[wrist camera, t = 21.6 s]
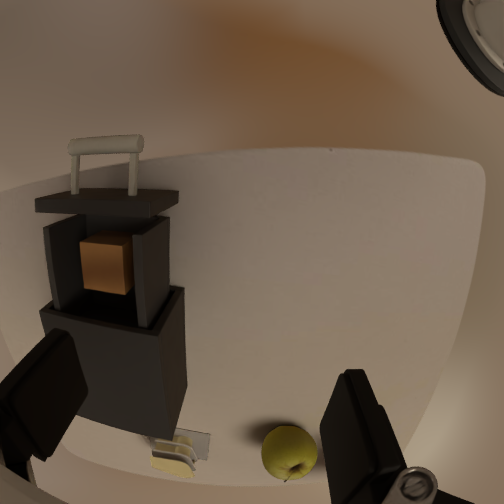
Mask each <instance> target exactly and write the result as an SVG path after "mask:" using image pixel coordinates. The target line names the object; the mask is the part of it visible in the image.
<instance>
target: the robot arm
mask: <svg viewBox="0 0 504 504" xmlns="http://www.w3.org/2000/svg"><path fill="white" fill-rule="evenodd" d="M462 12H463V16H464V20H465V22H466V25H467V27H468V30H469V32H470V34H471V35H472V37H473V39H474V41H475V42H476V44H477V45H478V47H479V48H480V50H481V51H482V52H483V54H484V55H485V56H486V58H487V59H488V60H489V61H490V62H491V63H492V64H493V65H494V66H495V67H496V68H497V69H499V70H500V71H501V72H503V73H504V0H464V1H463V5H462ZM87 396H88V386H87V383H86V380H85V377H84V374H83V371H82V368H81V364H80V361H79V357H78V354H77V350H76V347H75V343H74V339H73V337H72V336H71V335H70V333H69V332H68V331H66V330H62V329H59V328H53V329H52V330H51V331H50V332H49V333H48V334H47V335H46V336H45V337H44V338H43V339H42V340H41V341H40V342H39V343H38V344H37V345H36V346H35V347H34V348H33V349H32V350H31V351H30V352H29V353H28V354H27V355H26V356H25V357H24V358H23V359H22V360H21V361H20V362H19V363H18V364H17V365H16V366H15V368H14V369H13V370H12V371H11V372H10V373H9V374H8V375H7V376H6V377H5V379H4V380H3V381H2V382H1V383H0V504H68V503H66V502H64V501H62V500H60V499H58V498H56V497H54V496H52V495H50V494H48V493H47V492H44V491H43V490H41V489H40V488H38V487H37V485H36V481H35V478H34V473H33V470H32V465H31V461H30V457H31V456H32V454H33V455H34V456H35V457H36V458H38V459H40V460H42V461H44V462H45V461H46V459H47V457H50V456H52V454H53V453H54V451H55V449H56V447H57V446H58V444H59V442H60V440H61V439H62V437H63V435H64V434H65V432H66V430H67V429H68V427H69V425H70V424H71V422H72V420H73V419H74V417H75V415H76V414H77V412H78V410H79V409H80V407H81V406H82V404H83V402H84V401H85V399H86V397H87ZM320 436H321V441H322V447H323V453H324V459H325V465H326V471H327V477H328V483H329V490H330V497H331V504H474V503H472V502H469V501H466V500H464V499H461V498H458V497H456V496H453V495H450V494H448V493H446V492H443V491H441V490H439V489H437V488H438V483H437V479H436V478H435V475H434V474H433V473H432V472H431V471H429V470H427V469H425V468H423V467H410V468H407V465H406V463H405V460H404V457H403V454H402V452H401V449H400V447H399V444H398V441H397V439H396V436H395V434H394V431H393V429H392V426H391V424H390V421H389V419H388V416H387V414H386V411H385V409H384V408H383V406H382V405H378V402H377V400H376V397H375V395H374V393H373V390H372V388H371V385H370V383H369V381H368V378H367V376H366V374H365V371H364V370H363V369H347V370H345V372H344V373H342V374H340V375H339V377H338V380H337V382H336V385H335V388H334V390H333V393H332V396H331V398H330V401H329V403H328V406H327V408H326V411H325V413H324V416H323V418H322V420H321V423H320Z"/></svg>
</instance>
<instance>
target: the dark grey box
mask: <svg viewBox="0 0 504 504" xmlns="http://www.w3.org/2000/svg"><path fill="white" fill-rule="evenodd" d="M39 313H40V317H41V321H42V325H43V329H44V332H45V336H46V335H47V334H48V333H49V332H50V331H51V330H52V329H53V328H59V329H62V330H66V331H68V332H69V333H70V335H71V336H72V337H73V339H74V343H75V347H76V350H77V354H78V357H79V361H80V364H81V368H82V371H83V374H84V377H85V380H86V383H87V386H88V396H87V397H86V399H85V401H84V402H83V404H82V406H81V407H80V409H79V410H78V412H77V414H76V415H78V416H81V417H84V418H86V419H89V420H92V421H95V422H98V423H101V424H105V425H108V426H111V427H115V428H118V429H122V430H125V431H129V432H133V433H137V434H141V435H145V436H150V437H154V438H159V439H164V440H169V441H172V440H173V436H174V432H175V429H176V425H177V421H178V418H179V414H180V411H181V407H182V403H183V400H184V396H185V393H186V390H187V370H186V348H185V306H184V288H182V287H174V286H170V300H169V302H168V304H167V305H166V307H165V309H164V310H163V312H162V314H161V316H160V317H159V319H158V321H157V322H156V324H155V326H154V327H153V329H152V330H146V329H140V328H135V327H129V326H124V325H118V324H113V323H108V322H103V321H98V320H94V319H89V318H84V317H80V316H76V315H71V314H67V313H63V312H59V311H55V308H54V303H53V300H52V301H50V302H49V303H48V304H47V305H45V306H44V308H42V309H41V310H39Z"/></svg>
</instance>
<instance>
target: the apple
mask: <svg viewBox="0 0 504 504" xmlns="http://www.w3.org/2000/svg"><path fill="white" fill-rule="evenodd" d="M261 454H262V461H263V464H264V466H265V468H266V470H267V471H268V472H269V473H270V474H271V475H272V476H274V477H276V478H278V479H282V480H285V481H284V482H286V481H287V480H294V479H299V478H301V477H303V476H305V475H306V474H307V473H308V472H309V471H310V470H311V469H312V468H313V466H314V465H315V463H316V460H317V445H316V443H315V441H314V439H313V438H312V436H311V435H310V434H309V433H308V432H306V431H305V430H303V429H300V428H298V427H295V426H279V427H277V428H275V429H274V430H272V431H271V432H269V433H268V434H267V436H266V437H265V440H264V442H263V445H262V451H261Z"/></svg>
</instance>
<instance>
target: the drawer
mask: <svg viewBox="0 0 504 504" xmlns="http://www.w3.org/2000/svg"><path fill="white" fill-rule="evenodd" d="M143 147H144V138H143V136H142V135H118V136H102V137H89V138H78V139H72V140H70V142H69V144H68V152H69V154H70V155H71V156H72V163H71V190H70V191H65V192H61V193H56V194H52V195H48V196H44V197H40V198H36V199H35V212H39V213H64V214H77V215H75V216H72V217H69V218H66V219H64V220H61V221H58V222H56V223H53V224H50V225H48V226H45V227H43V235H44V245H45V254H46V262H47V269H48V276H49V282H50V288H51V293H52V298H53V303H54V308H55V311H59V312H63V313H67V314H71V315H76V316H80V317H84V318H89V319H94V320H98V321H103V322H108V323H113V324H118V325H124V326H129V327H135V328H140V329H146V330H152V329H153V327H154V326H155V324H156V322H157V321H158V319H159V317H160V316H161V314H162V312H163V310H164V309H165V307H166V305H167V304H168V302H169V300H170V280H169V233H170V217H164V216H155V215H157V214H158V213H160V212H162V211H164V210H166V209H168V208H170V207H172V206H174V205H175V204H177V203H178V197H179V191H171V190H147V189H137V180H138V160H139V153H141V152H142V150H143ZM111 153H130V162H129V184H128V189H111V188H79V165H80V155H89V154H111ZM102 230H107V231H119V232H132V233H134V234H133V260H134V279H135V285H134V286H133V287H132V288H131V289H130V290H129V291H128V292H127V294H126V295H123V294H116V293H110V292H104V291H98V290H92V289H86V288H84V281H83V273H82V263H81V253H80V241H82V240H84V239H86V238H88V237H90V236H92V235H94V234H96V233H98V232H100V231H102Z"/></svg>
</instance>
